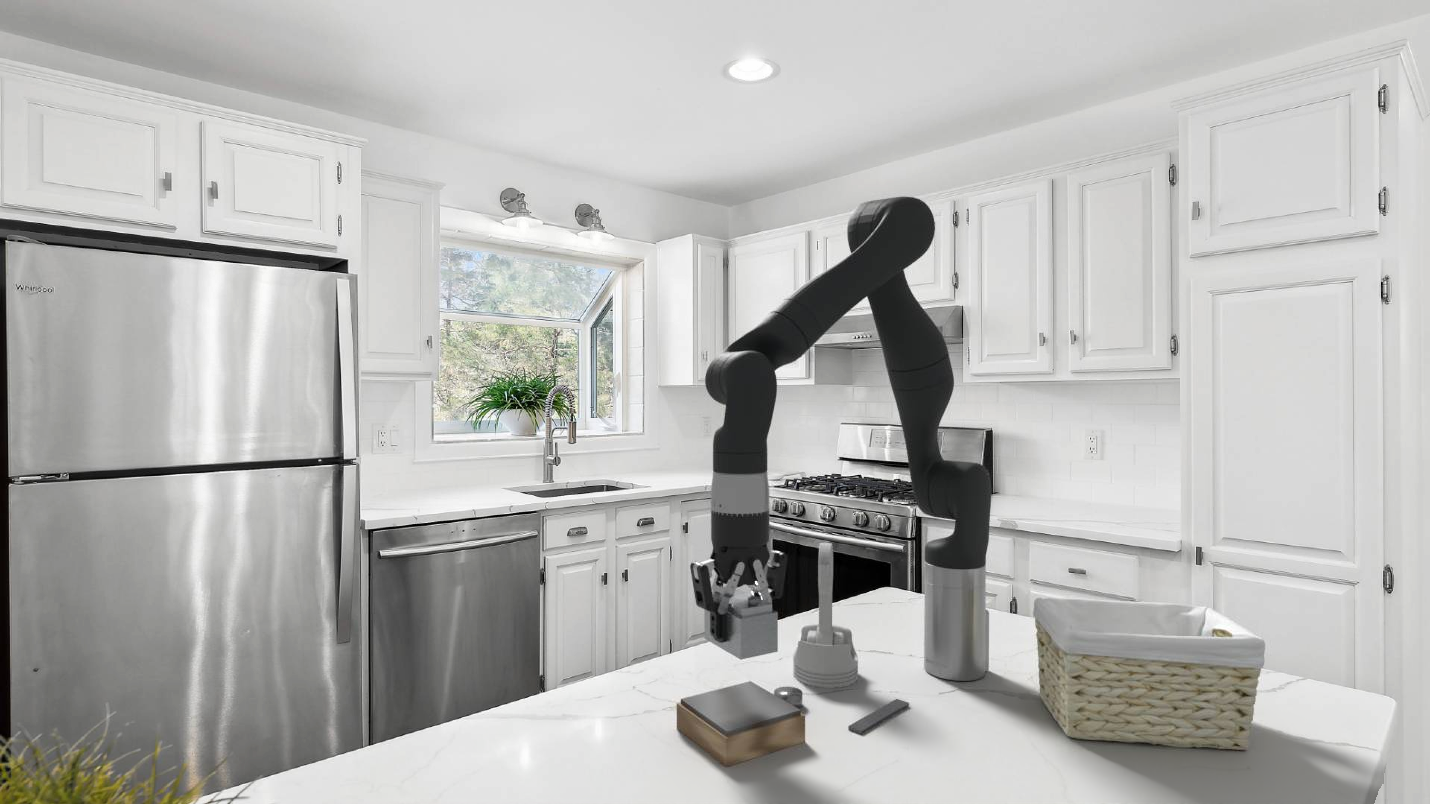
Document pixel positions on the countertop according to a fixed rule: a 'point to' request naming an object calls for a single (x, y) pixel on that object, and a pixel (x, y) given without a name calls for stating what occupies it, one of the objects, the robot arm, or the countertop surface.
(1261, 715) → the countertop surface
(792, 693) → the dark grey domed cap
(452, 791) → the countertop surface
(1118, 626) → the storage basket
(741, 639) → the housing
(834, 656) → the engine component
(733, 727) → the stand
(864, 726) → the bar
